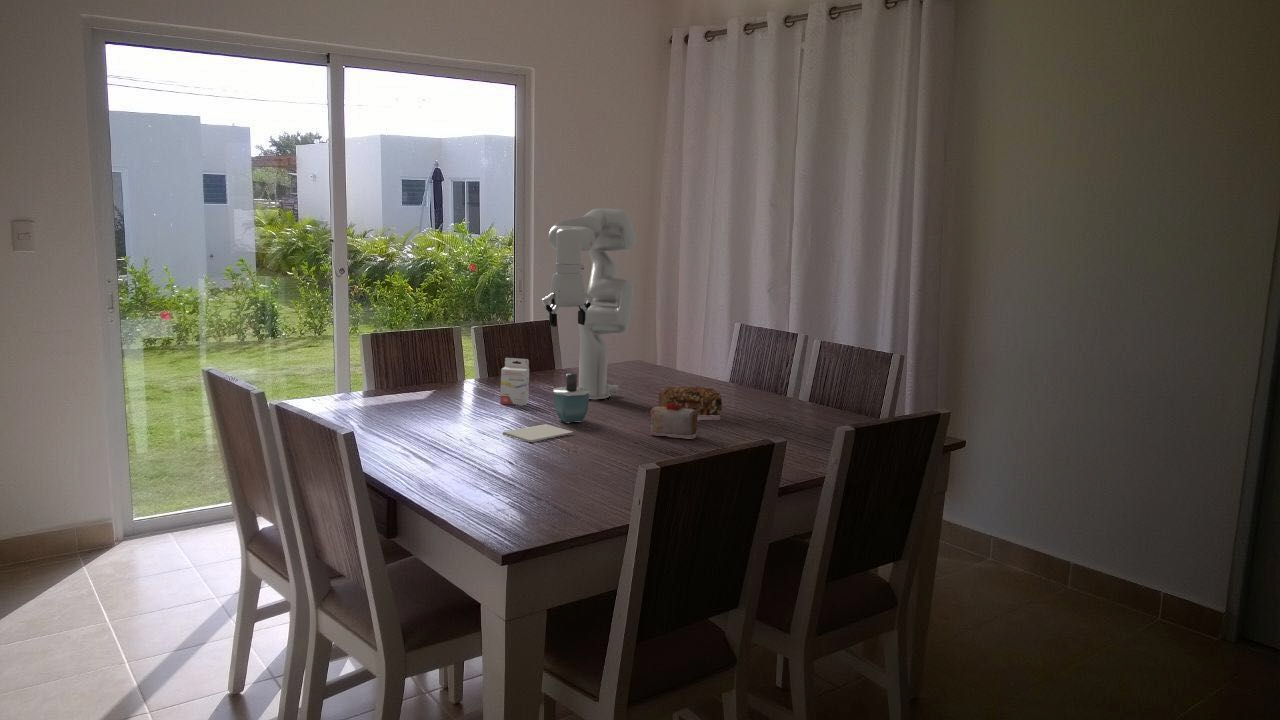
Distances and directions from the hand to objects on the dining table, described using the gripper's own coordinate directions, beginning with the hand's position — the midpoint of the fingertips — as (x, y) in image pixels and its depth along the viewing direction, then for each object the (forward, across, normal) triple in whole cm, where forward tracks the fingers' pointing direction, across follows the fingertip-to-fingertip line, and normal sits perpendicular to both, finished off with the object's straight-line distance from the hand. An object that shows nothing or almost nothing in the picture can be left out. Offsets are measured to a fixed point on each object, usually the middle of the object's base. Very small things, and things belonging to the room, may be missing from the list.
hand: (567, 325), depth 285 cm
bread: (+29, -34, +18) cm, 49 cm away
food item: (+28, -16, +36) cm, 48 cm away
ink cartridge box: (+29, +7, -22) cm, 37 cm away
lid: (+19, +3, +8) cm, 21 cm away
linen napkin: (+27, +19, +19) cm, 39 cm away
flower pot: (+28, +3, +8) cm, 30 cm away
